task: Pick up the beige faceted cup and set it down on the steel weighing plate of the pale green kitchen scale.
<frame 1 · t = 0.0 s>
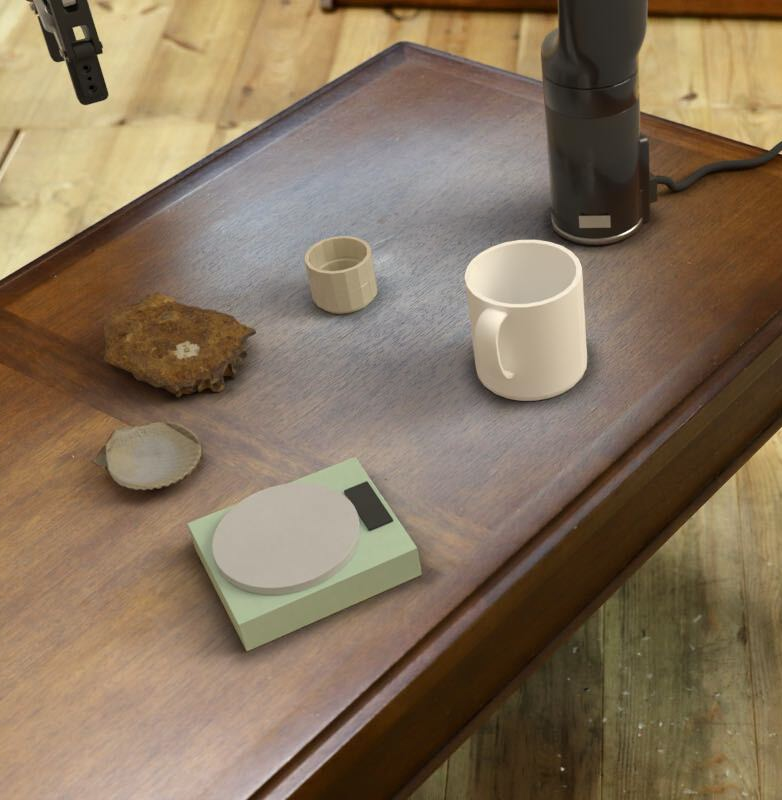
hand: (79, 78, 106), 29 cm above the table, tool pointing down, fingers open, 8 cm apart
seashell: (155, 470, 115), on the table
beige faceted cup: (346, 297, 133), on the table
mug: (525, 376, 123), on the table
kitchen scale: (307, 562, 106), on the table
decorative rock: (175, 358, 127), on the table
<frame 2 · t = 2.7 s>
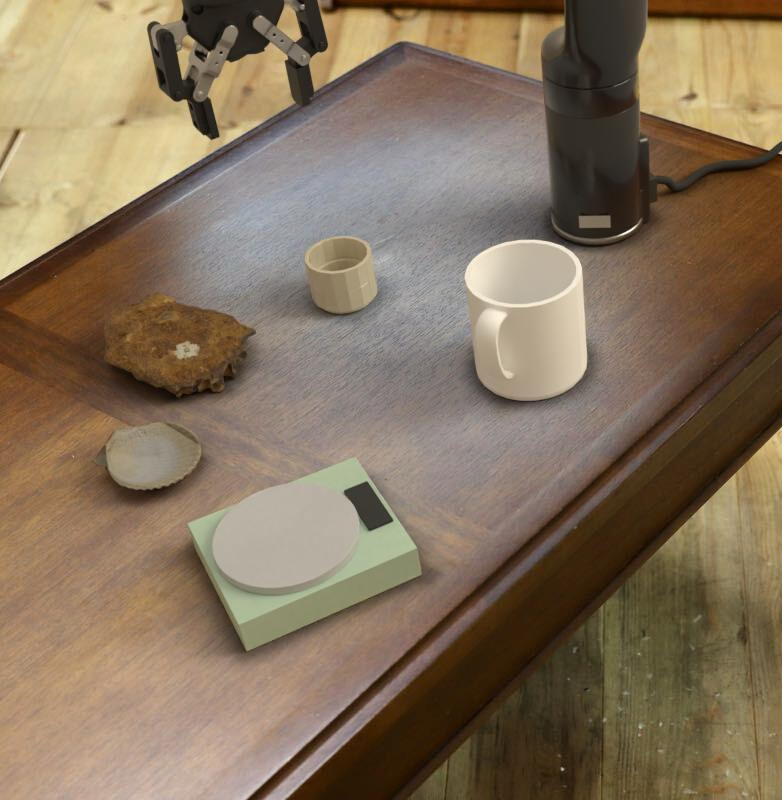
hand: (257, 118, 117), 21 cm above the table, tool pointing down, fingers open, 8 cm apart
nothing on the table moved.
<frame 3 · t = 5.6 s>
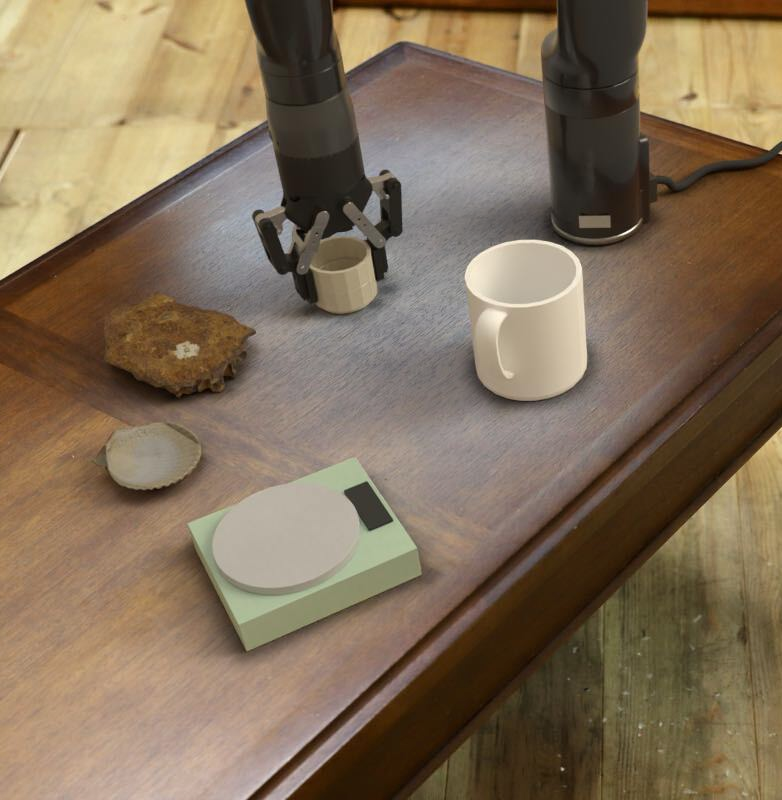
hand: (344, 287, 132), 1 cm above the table, tool pointing down, fingers closed on beige faceted cup, 6 cm apart
beige faceted cup: (346, 297, 133), on the table, touching gripper
everything else where it was.
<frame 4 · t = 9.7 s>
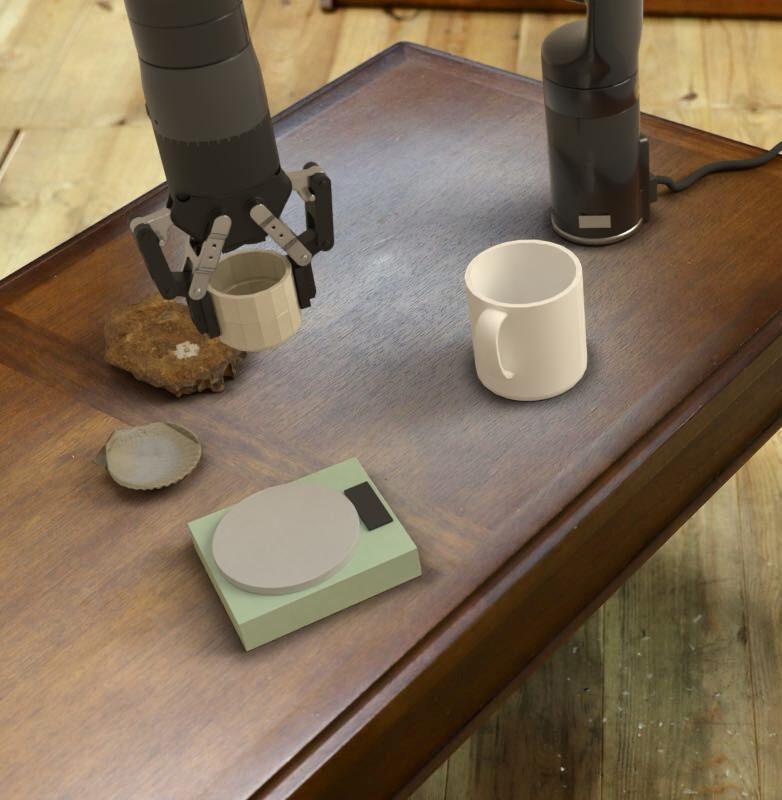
hand: (257, 316, 100), 18 cm above the table, tool pointing down, fingers closed on beige faceted cup, 6 cm apart
beige faceted cup: (260, 329, 101), point 17 cm above the table, touching gripper
everything else where it was.
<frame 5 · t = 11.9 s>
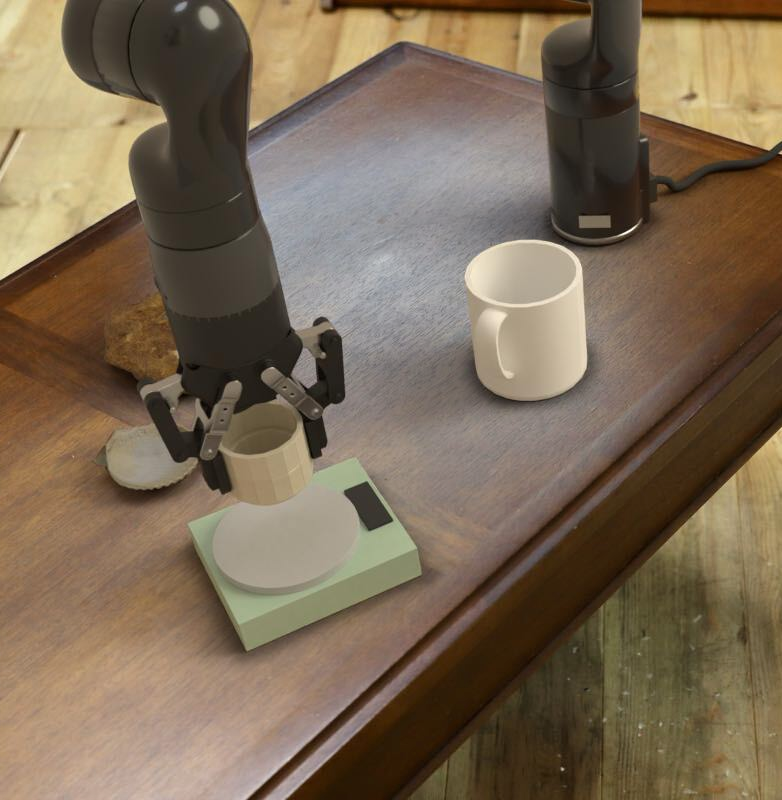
hand: (269, 468, 99), 10 cm above the table, tool pointing down, fingers closed on beige faceted cup, 6 cm apart
beige faceted cup: (271, 479, 100), point 9 cm above the table, touching gripper
everything else where it was.
when the fingers open (5 cm above the table, at t = 13.8 s): beige faceted cup stays where it is, resting on kitchen scale.
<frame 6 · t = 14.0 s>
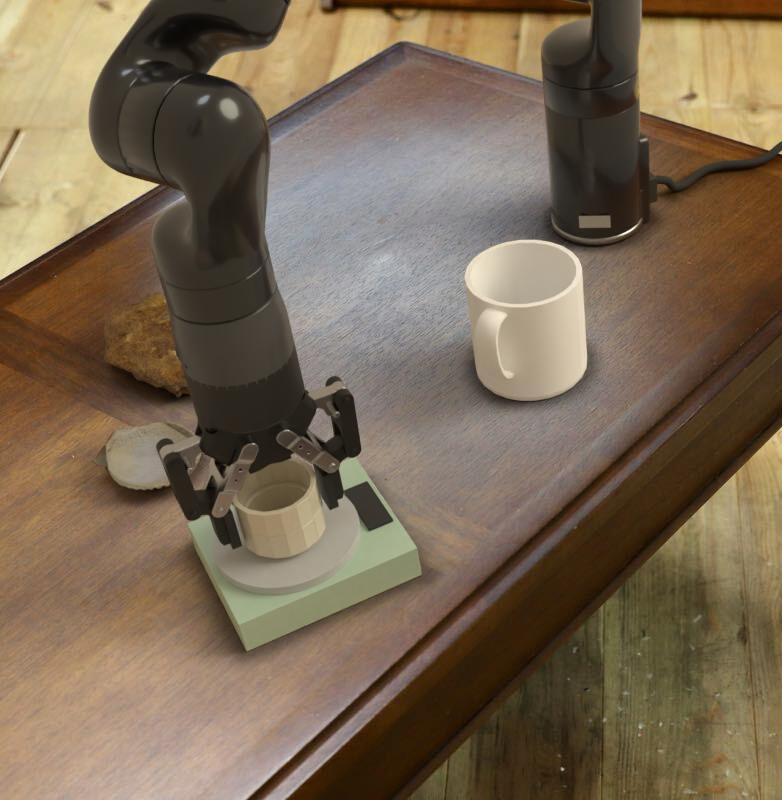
hand: (282, 521, 103), 5 cm above the table, tool pointing down, fingers open, 7 cm apart
beige faceted cup: (285, 532, 104), point 4 cm above the table, touching kitchen scale
everything else where it was.
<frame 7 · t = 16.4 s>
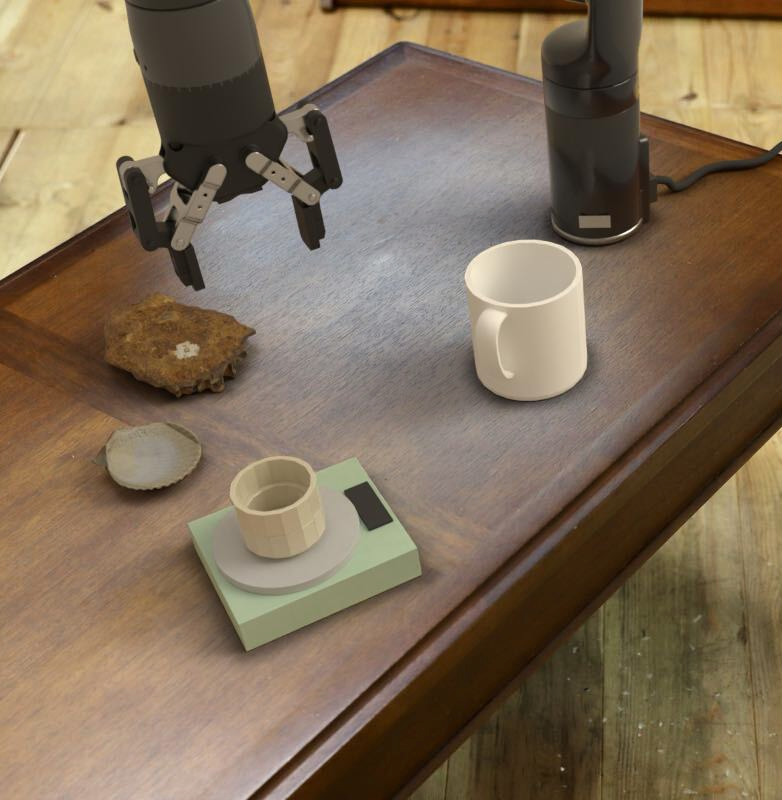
hand: (255, 264, 97), 23 cm above the table, tool pointing down, fingers open, 8 cm apart
nothing on the table moved.
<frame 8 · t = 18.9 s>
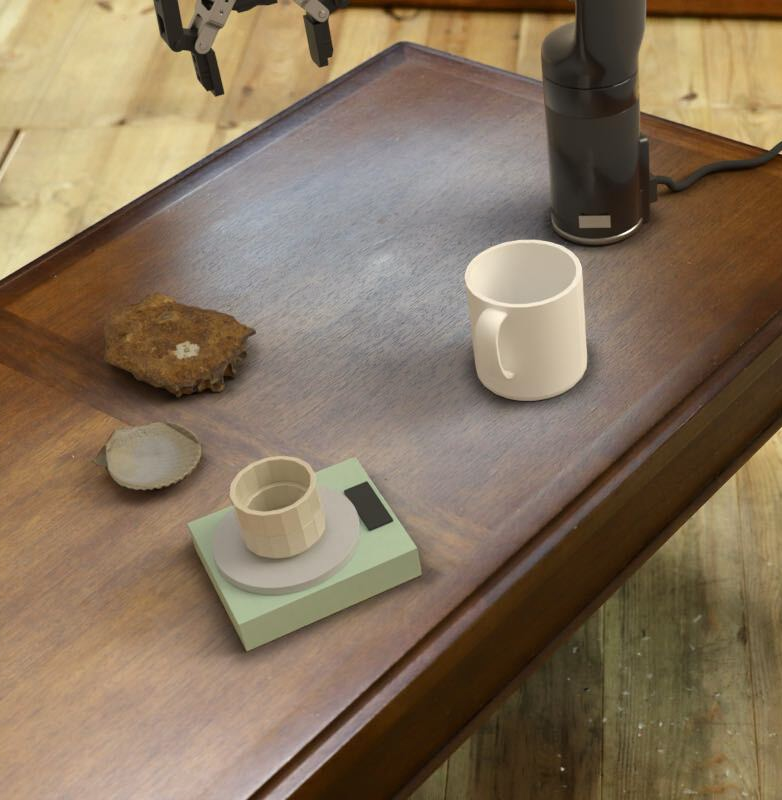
hand: (269, 77, 108), 28 cm above the table, tool pointing down, fingers open, 8 cm apart
nothing on the table moved.
at the end: beige faceted cup 0.1 cm from the target spot on the kitchen scale, point 3.8 cm above the kitchen scale's base; beige faceted cup tilted 0°; the gripper is holding nothing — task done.
